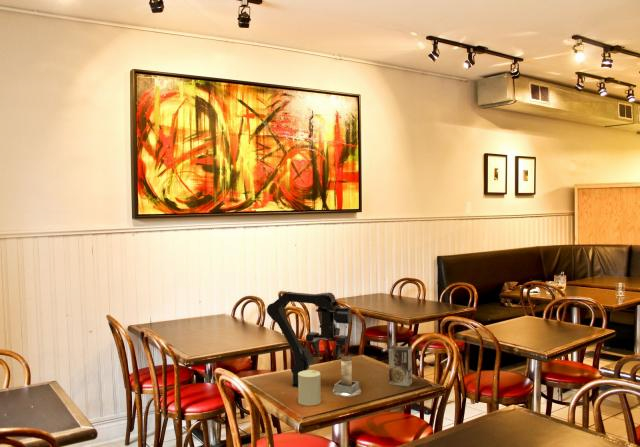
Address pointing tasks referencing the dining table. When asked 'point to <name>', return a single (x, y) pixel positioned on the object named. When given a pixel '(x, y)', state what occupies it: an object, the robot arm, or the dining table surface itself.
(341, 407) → the dining table surface
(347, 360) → the cream tall cylinder
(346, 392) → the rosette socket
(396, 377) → the coffee box
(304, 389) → the can
